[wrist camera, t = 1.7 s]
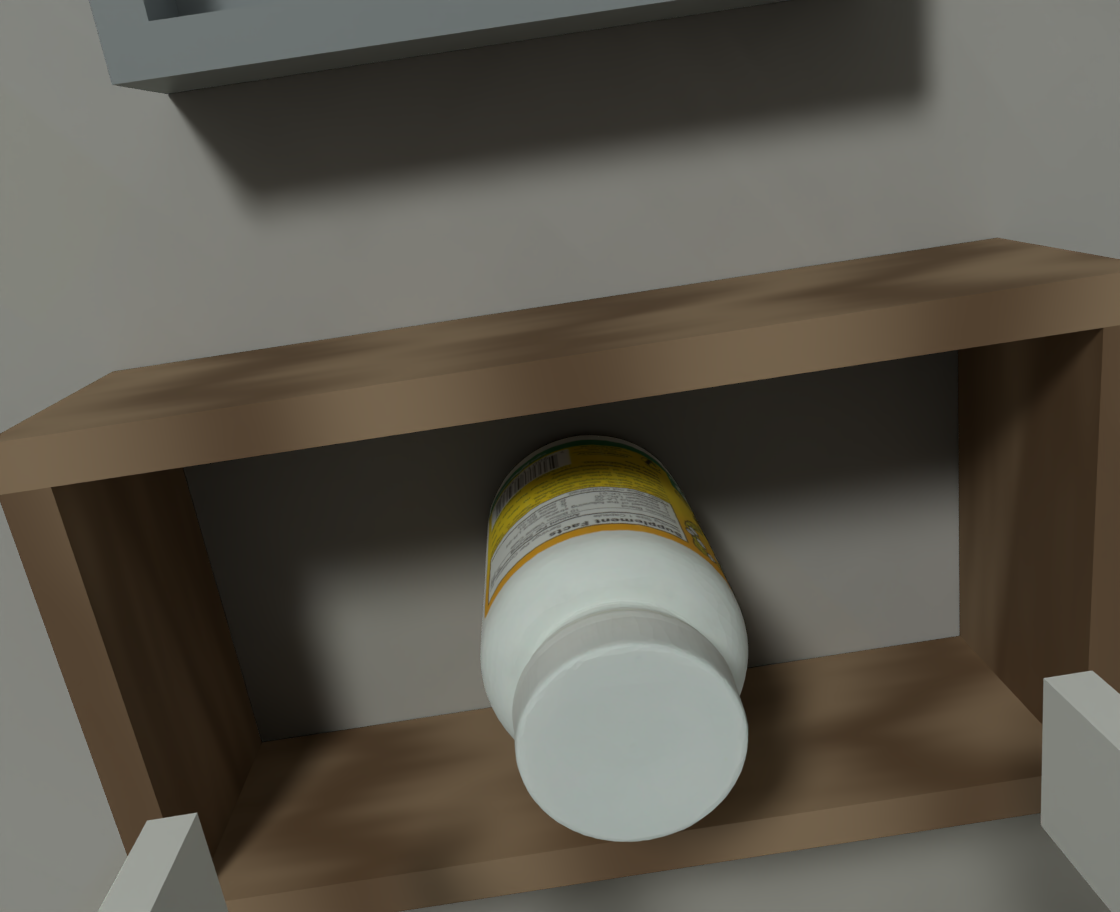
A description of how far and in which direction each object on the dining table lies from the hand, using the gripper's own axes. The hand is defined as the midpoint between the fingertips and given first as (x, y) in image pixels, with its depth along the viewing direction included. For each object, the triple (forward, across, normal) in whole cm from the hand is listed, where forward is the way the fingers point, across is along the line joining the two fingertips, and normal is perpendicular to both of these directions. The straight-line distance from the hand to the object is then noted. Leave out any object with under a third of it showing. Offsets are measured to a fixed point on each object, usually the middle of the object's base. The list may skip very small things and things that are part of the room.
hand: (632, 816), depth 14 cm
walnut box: (+11, 0, 0) cm, 11 cm away
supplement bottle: (+11, 0, 0) cm, 11 cm away
